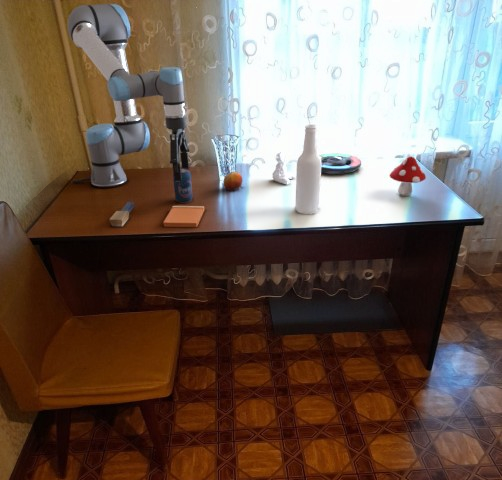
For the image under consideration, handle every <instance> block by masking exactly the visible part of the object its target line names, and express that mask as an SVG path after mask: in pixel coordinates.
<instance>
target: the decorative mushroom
mask: <svg viewBox="0 0 502 480" xmlns="http://www.w3.org/2000/svg"><path fill="white" fill-rule="evenodd" d="M389 178H390V179H392V180H394V181H396V182H400V184H399V187H398V189H397V194H399V195H400V196H403V197H404V196H410V195H412V193H413V184H418V183H421V182H423V181H425V180H426V178H427V177H426V173H425V172H424V170H423V168H421V167H420V165H419V164H418V162H417V159H416V158H415V157H413V156H408V157H406V158H405V159H404V160H403V161H402V162H401V163H400V164H399V165H397V166H395V167H394V168H393V170H392V171H391V172H390V173H389Z"/></svg>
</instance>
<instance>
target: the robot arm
mask: <svg viewBox="0 0 502 480" xmlns="http://www.w3.org/2000/svg"><path fill="white" fill-rule="evenodd" d="M131 30H132V29H131V24H130V20H129V18H128V15H127V13H126V11H125V10H124V8H123V7H122V6H120V5H119V4H115V3H101V4H99V3H98V4H82V5H81V4H80V5H79V6H76V7H75V8H74V9H72V11H70V14H69V16H68V19H67V32H68V35H69V37H70V39H71V41H72V42H73V43H74V45H75V46H76V47H77V48H79V49H80V50H82V51H83V52H84V54H85V55H86V56H87V57H88V58H89V60H90V61H91V62H92V63H93V65H94V66H95V67H96V68H97V70H98V71H99V72H100V73H101V75H102V76H103V77H104V78H105V80H106V81H107V91H108V93H109V96H110V98H111V99H112V101H113V106H114V110H115V114H116V116H115V118H114V120H113V122H114V125H113V124H112V123H109V122H108V123H107V122H106V123H104V122H103V123H99V124H95V125H93V126H90V127H88V128H87V129H86V131H85V139H86V145H87V149H88V153H89V154H88V155H89V158H90V162H91V173H90V177H86V178H82V179H78V180H73V181H72V182H73V184H78V183H82V182H87V181H90V182H91V186H93V187H95V188H99V189H112V188H117V187H121V186H123V185H125V184H126V183H127V182H128V178H127V175H126V173H125V171H124V169H123V166H122V165H121V162H120V157H119V156H124V155H128V154H133V153H139V152H142V151H145V150H146V149H148V147H149V145H150V141H151V135H150V130H149V127H148V124H147V123H146V122H145V121H143V119H142V117H141V116H140V115H139V114H138V112H137V107H136V101H135V100H137V99H143V98H149V97H155V96H156V97H157V96H160V97H162V102H163V112H164V116H165V127H166V129H168V130H171V133H170V134H169V141H170V142H169V145H170V146H169V149H170V153H169V155H170V159H169V164H171V165H172V172H173V173H174V181H182V176H181V168H187V169H188V170H189V171H190V164H189V154H188V153H190V148H189V145H188V140H187V136H186V135H187V134H186V131H185V129H186V128H187V126H188V122H187V117H186V110H187V105H185V93H184V91H185V90H184V80H183V75H182V70H181V68H179V67H178V66H167V67H165V66H164V67H161V68H160V69H159V71H158V70H149V71H147V72H144V73H136V74H135V73H134V74H130V70H129V65H128V61H127V55H126V47H127V45H128V39H129V38H130V37H131ZM173 173H172V174H173ZM174 181H173V182H174Z"/></svg>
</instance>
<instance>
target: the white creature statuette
mask: <svg viewBox="0 0 502 480" xmlns="http://www.w3.org/2000/svg"><path fill="white" fill-rule="evenodd" d="M274 157H275V161H276V162H277V164H276V165H275V169H274V171H273V172H272V175H271V176H272V177H271V178H272V179H273V180H274V182H276V183H280V184H283V185H289V184H290V181H291V180H294V174H293V173H291V172H288V171H287V166H286V162H287V159H286V156H285V154H284V152H283V151H280V152H278V153H277V154H276V155H275V156H274Z"/></svg>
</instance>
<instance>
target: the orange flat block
mask: <svg viewBox="0 0 502 480" xmlns="http://www.w3.org/2000/svg"><path fill="white" fill-rule="evenodd" d="M204 213H205V206H203V205H172V207H171V209H170V211H169V213H168V214H167V216H166V217H165V219H164V221H163V222H162V223H163V227H165V228H168V227H169V228H170V227H171V228H197V227H198V225H199V223H200V221H201V219H202V217H203V214H204Z"/></svg>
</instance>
